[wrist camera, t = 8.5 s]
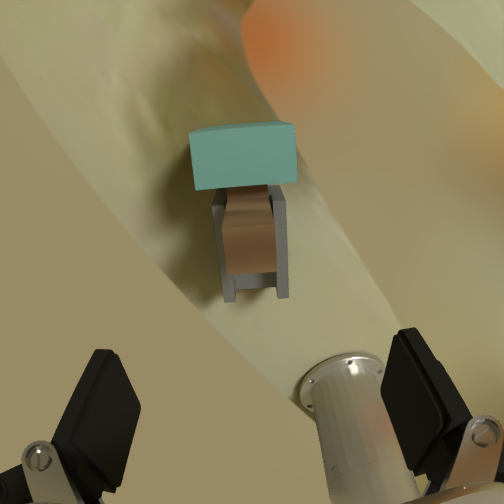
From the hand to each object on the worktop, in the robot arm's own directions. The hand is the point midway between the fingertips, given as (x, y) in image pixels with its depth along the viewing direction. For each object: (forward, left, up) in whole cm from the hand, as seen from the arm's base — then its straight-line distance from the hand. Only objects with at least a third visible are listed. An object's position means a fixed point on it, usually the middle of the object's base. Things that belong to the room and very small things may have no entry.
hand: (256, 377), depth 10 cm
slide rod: (+2, 0, -19) cm, 19 cm away
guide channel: (-4, 0, -22) cm, 22 cm away
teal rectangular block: (+5, 0, -22) cm, 23 cm away
